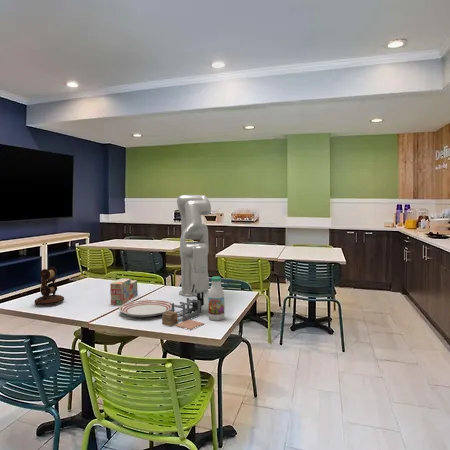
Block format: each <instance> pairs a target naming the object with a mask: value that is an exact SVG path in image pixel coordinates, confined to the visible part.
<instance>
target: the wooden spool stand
mask: <svg viewBox="0 0 450 450" xmlns="http://www.w3.org/2000/svg"><path fill="white" fill-rule="evenodd" d="M39 275H40V278H41V284H40V285H41V286H40V294H41V296H38V298H36V299H35V300H34V304H35V307H37V306H38V305H39V306H47V305H51V306H52V307H54V306H55V304H59V303H61V302H64V300H65V297H64V296H62V295H60V294H56V293H57V291H58V286H57V284H56V283H55V281H56V275H57V269H56V268H55V266H49V267H48V268H47V269H46V268H44V269H42V270H40V272H39Z"/></svg>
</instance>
